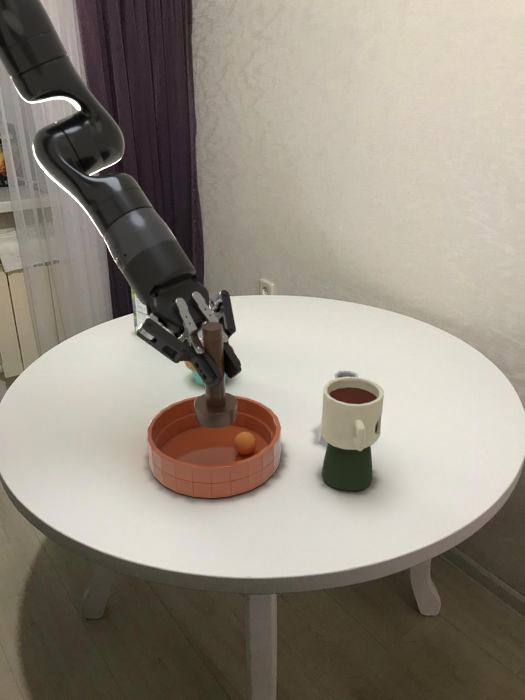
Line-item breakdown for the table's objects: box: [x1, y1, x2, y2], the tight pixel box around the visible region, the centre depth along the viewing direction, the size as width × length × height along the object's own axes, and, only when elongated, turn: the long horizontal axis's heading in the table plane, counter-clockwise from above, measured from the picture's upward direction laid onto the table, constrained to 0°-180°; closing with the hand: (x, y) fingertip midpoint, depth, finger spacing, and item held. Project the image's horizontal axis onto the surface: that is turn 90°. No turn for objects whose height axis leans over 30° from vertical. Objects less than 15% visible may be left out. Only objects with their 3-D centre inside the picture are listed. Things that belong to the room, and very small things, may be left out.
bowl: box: [146, 394, 282, 499], centre depth 77 cm, size 17×17×5 cm
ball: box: [234, 432, 256, 455], centre depth 78 cm, size 3×3×3 cm
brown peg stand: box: [194, 322, 238, 428], centre depth 69 cm, size 5×5×12 cm
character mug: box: [321, 376, 385, 491], centre depth 72 cm, size 11×7×13 cm, turn 4°
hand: (227, 378), depth 68 cm, fingers closed on brown peg stand, 2 cm apart
